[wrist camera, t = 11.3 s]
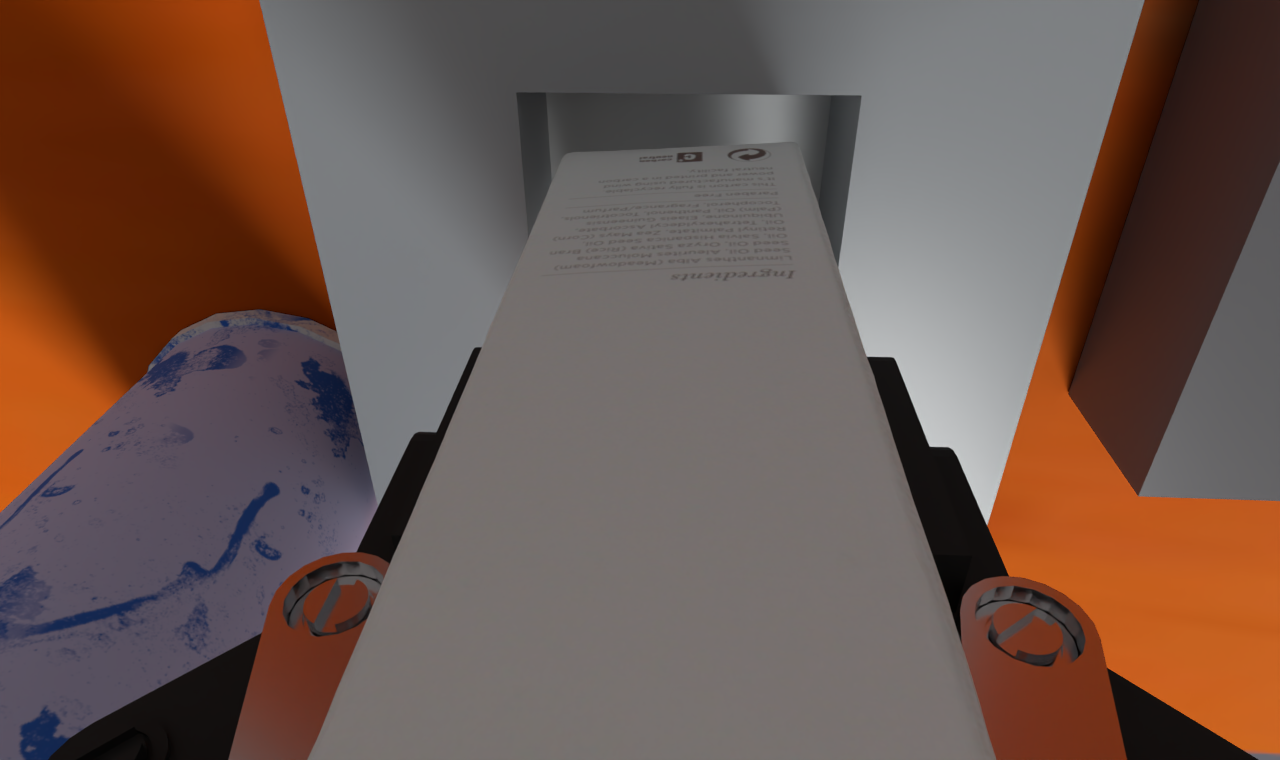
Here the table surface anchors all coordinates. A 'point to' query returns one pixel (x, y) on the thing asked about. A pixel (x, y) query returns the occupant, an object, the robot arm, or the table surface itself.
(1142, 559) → the table surface
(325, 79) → the grey slotted board
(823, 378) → the skincare box
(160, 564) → the aerosol can
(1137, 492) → the button housing
